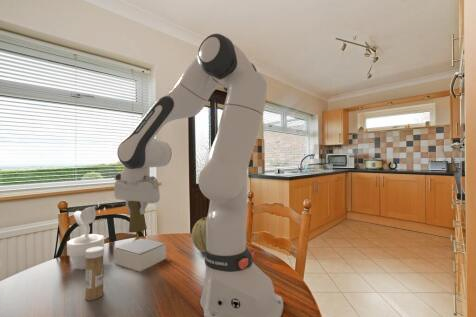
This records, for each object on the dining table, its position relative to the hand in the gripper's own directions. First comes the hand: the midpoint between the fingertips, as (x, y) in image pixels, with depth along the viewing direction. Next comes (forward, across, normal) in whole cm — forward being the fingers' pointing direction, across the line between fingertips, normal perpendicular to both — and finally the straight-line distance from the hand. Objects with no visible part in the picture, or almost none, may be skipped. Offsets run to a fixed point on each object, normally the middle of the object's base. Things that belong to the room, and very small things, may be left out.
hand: (136, 213), depth 83 cm
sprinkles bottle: (+20, -5, +18) cm, 27 cm away
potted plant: (+20, +17, +8) cm, 27 cm away
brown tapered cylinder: (+6, -1, 0) cm, 6 cm away
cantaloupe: (+19, -16, -23) cm, 35 cm away
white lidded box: (+19, +2, -4) cm, 20 cm away
